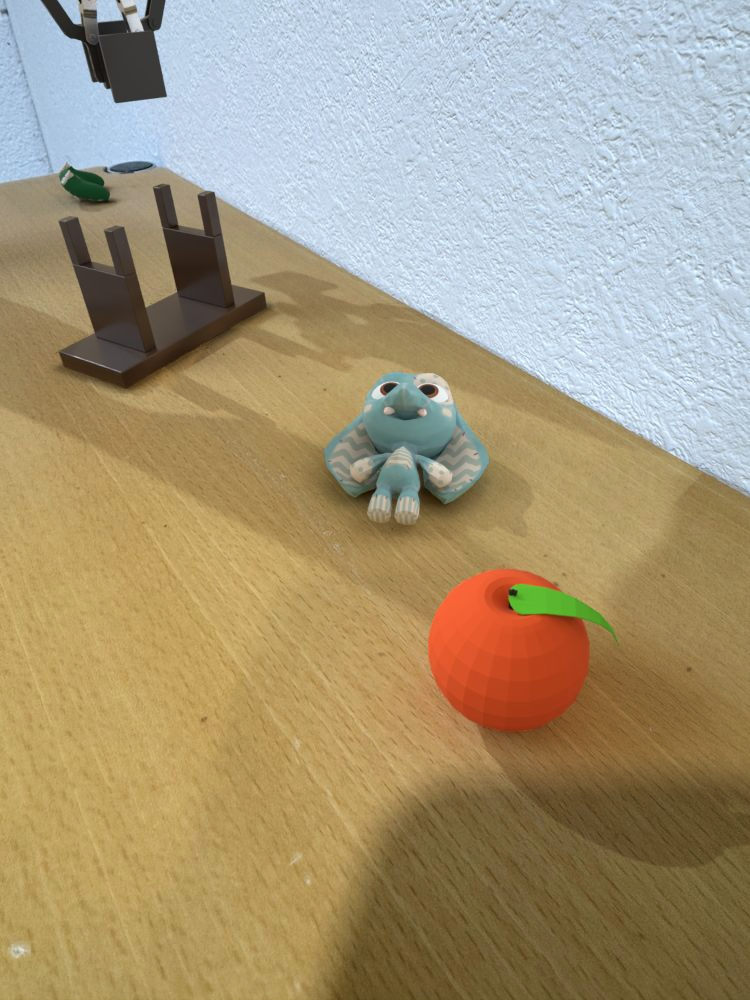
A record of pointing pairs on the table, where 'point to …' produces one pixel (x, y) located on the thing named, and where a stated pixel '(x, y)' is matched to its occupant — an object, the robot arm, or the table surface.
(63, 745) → the table surface
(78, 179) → the green banana bunch
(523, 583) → the clementine
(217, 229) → the holder
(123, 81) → the handle
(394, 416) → the stuffed animal
